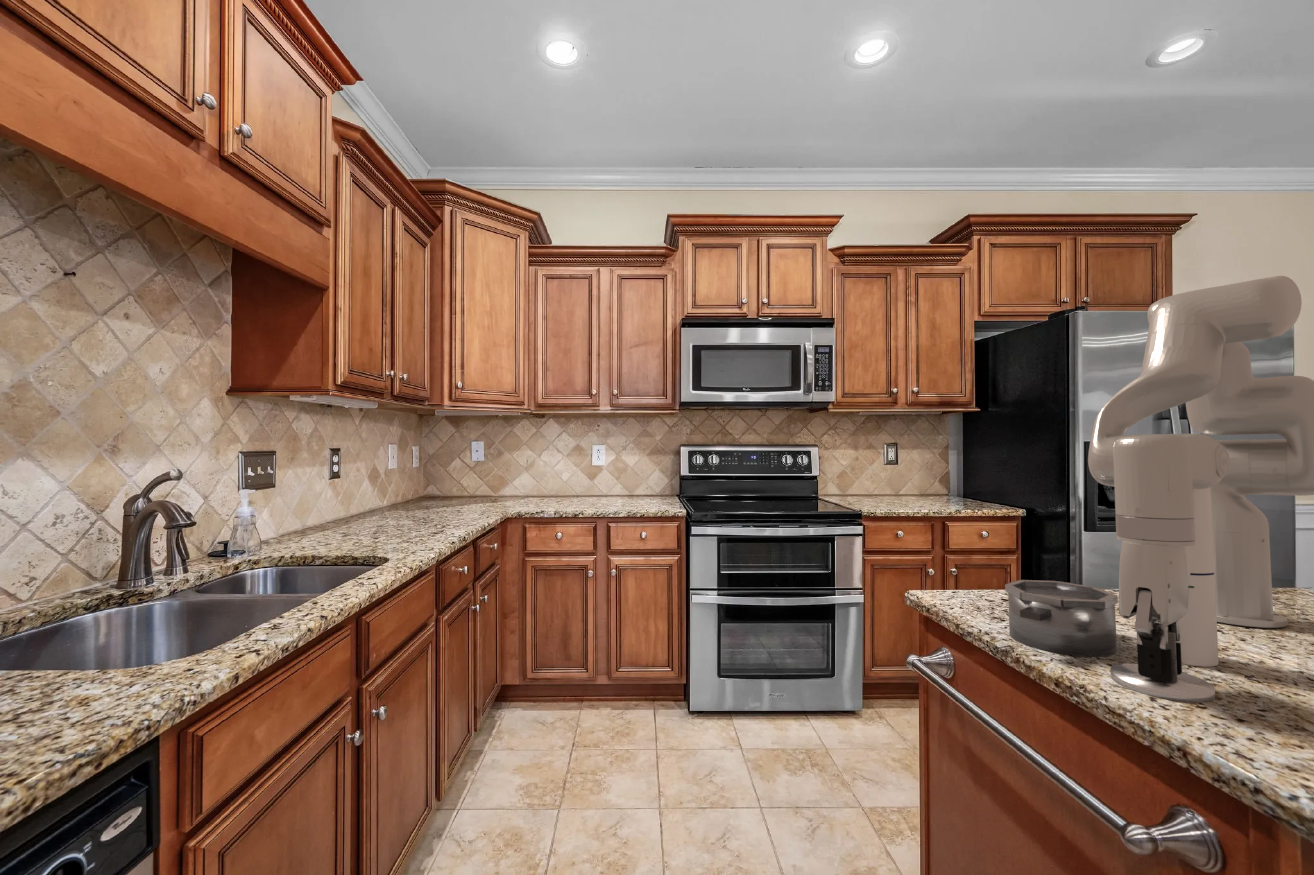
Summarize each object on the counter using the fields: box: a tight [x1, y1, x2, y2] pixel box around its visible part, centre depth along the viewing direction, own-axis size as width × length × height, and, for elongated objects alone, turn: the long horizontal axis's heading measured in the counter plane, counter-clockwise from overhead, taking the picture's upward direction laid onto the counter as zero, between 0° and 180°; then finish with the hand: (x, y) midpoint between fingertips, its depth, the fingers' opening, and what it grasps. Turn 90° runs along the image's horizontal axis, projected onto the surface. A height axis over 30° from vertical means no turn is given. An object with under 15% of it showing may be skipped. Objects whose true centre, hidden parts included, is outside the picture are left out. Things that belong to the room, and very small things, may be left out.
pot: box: [1004, 579, 1119, 658], centre depth 86 cm, size 21×14×8 cm, turn 124°
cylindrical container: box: [1157, 487, 1220, 668], centre depth 79 cm, size 7×7×25 cm
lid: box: [1109, 627, 1216, 704], centre depth 70 cm, size 10×10×7 cm
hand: (1160, 673), depth 70 cm, fingers closed on lid, 3 cm apart
